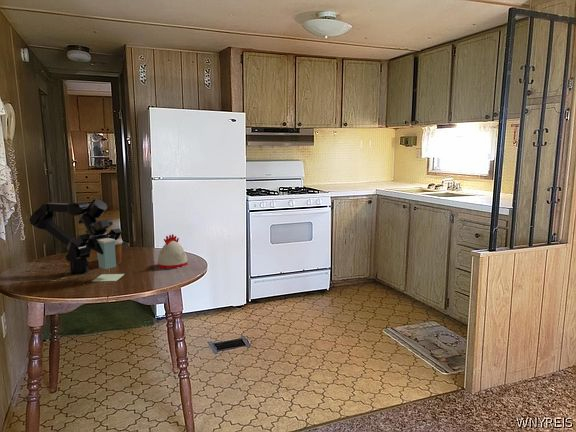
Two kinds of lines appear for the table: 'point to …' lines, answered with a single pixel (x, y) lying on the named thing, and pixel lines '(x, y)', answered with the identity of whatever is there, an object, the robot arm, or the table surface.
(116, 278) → the plate
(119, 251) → the disposable coffee cup
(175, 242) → the kitchen timer
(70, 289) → the table surface
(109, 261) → the tea tin
